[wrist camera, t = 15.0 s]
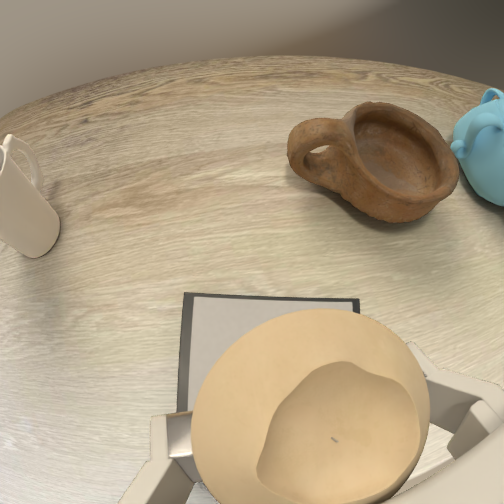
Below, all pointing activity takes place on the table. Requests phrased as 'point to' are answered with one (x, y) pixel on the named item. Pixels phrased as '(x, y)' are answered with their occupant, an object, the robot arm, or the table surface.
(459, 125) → the decorative pot
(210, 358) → the scale
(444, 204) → the table surface
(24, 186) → the mug
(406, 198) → the bowl
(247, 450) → the candle
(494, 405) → the robot arm
